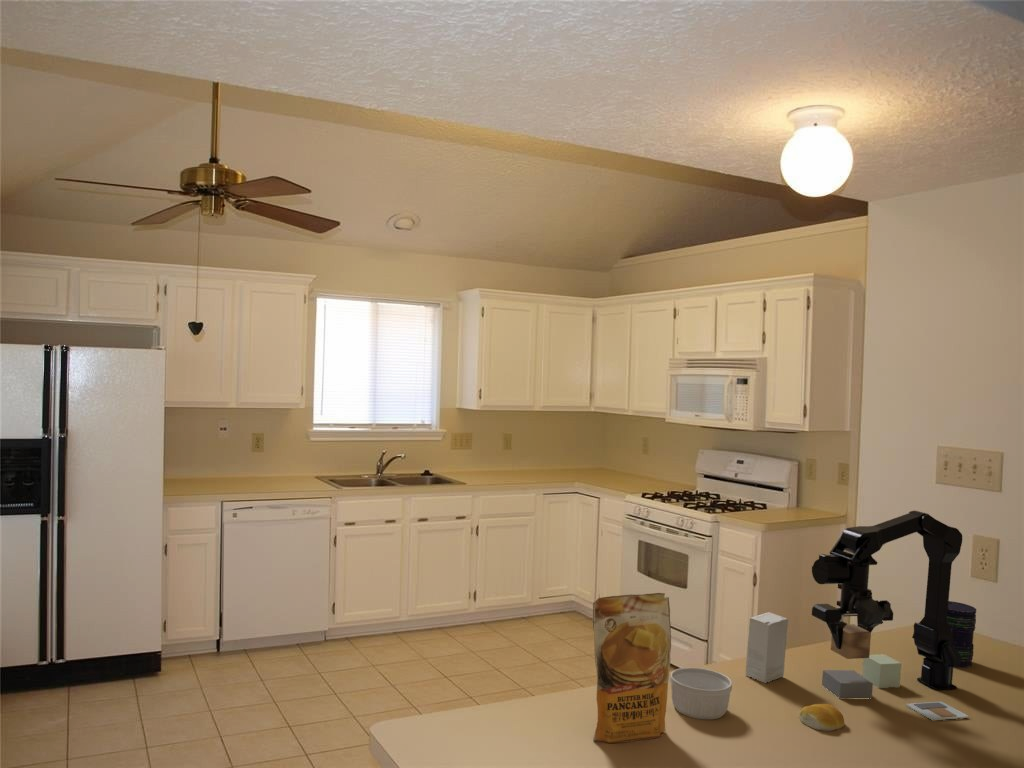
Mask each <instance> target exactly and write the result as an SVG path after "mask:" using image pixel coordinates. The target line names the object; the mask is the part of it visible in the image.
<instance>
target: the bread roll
mask: <svg viewBox="0 0 1024 768" xmlns="http://www.w3.org/2000/svg"><path fill="white" fill-rule="evenodd" d="M837 708H838V707H835V706H834V705H831V704H828V703H814V704H811V705H806V706H804V707H802V708H801V709H800V711H799V714H798V718H799V720H800V722H801V723H802V724H804V725H806V726H807V727H809V728H811V729H813V730H817V731H823V732H831V731H835V730H839V729H842V728H843V727H844V725H845V718H844V715H843V714H842V712H841V711H840V710H839V709H837Z"/></svg>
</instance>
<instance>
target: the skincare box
mask: <svg viewBox="0 0 1024 768" xmlns="http://www.w3.org/2000/svg"><path fill="white" fill-rule="evenodd" d="M788 623H789V619H788V618H786V617H784V616H781V615H778V614H775V613H773V612H769V611H768V612H765V613H761V614H759V615H755V616H751V617H749V625H748V626H749V627H748V635H747V636H748V637H747V649H746V650H747V651H746V662H745V664H746V665H745V676H747V677H748V678H750V677H752V678H751V679H753V678H754V679H753V680H755V679H757V680H756V681H758V680H759V681H758V682H760V681H762V682H764V683H763V684H768V683H770V682H772V680H773V681H775V680H777V679H781V678H782V677H784V675H785V674H784V673H785V661H786V660H785V659H786V651H787V650H786V647H787V638H788V637H787V636H788ZM762 682H761V683H762ZM767 682H768V683H767Z"/></svg>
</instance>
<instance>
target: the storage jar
mask: <svg viewBox="0 0 1024 768" xmlns="http://www.w3.org/2000/svg"><path fill="white" fill-rule="evenodd" d="M976 613H977V608H975V607H974V606H972V605H969V604H966V603H962V602H958V601H957V602H956V601H953V600H952V601H950V600H949V602H948V614H947V622H948V624H949V627H950V629H951V631H952V633H953V646H954V647H955V649H956V650H957V651H958V653H959V654H960V655H961V657H962V660H961V663H960V665H959V666H956V667H955V668H960V669H963V668H964V669H965V668H967V669H969V668H971V667H972V665H973V661H972V660H973V657H974V647H975V645H974V634H975V633H974V632H975V631H976V623H977V615H976Z"/></svg>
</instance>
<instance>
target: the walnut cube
mask: <svg viewBox="0 0 1024 768" xmlns="http://www.w3.org/2000/svg"><path fill="white" fill-rule="evenodd" d="M871 639H872V632H869V631H867V630H865V629H863V628H861V627H859V626H858V624H857V625H856V624H855V623H852V624H850V623H849V624H848V623H847V625H846V626H845V627H844V628H843V637H842V646H841V649H838V648H837V647H836V645H835V642H834V639H833V637H832V636H831V639H830V640H831V641H830V642H831V644H830V650H831V651H832V652H834V653H836V654H837V655H840V656H841V657H843V658H845V659H847V660H850V659H851V660H853V659H856V660H857V659H864V658H869V655H871V654H870V653H871V652H870V651H871Z"/></svg>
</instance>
